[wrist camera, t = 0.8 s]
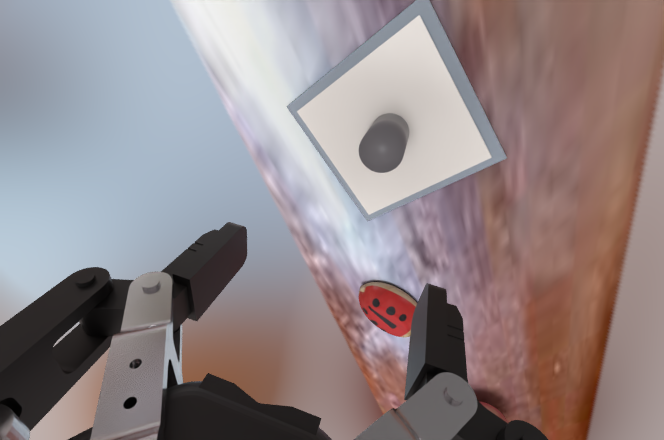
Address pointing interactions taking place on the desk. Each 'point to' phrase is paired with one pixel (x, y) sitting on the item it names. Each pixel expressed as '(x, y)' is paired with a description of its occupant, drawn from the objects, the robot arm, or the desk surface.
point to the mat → (457, 74)
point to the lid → (395, 121)
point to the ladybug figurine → (388, 307)
